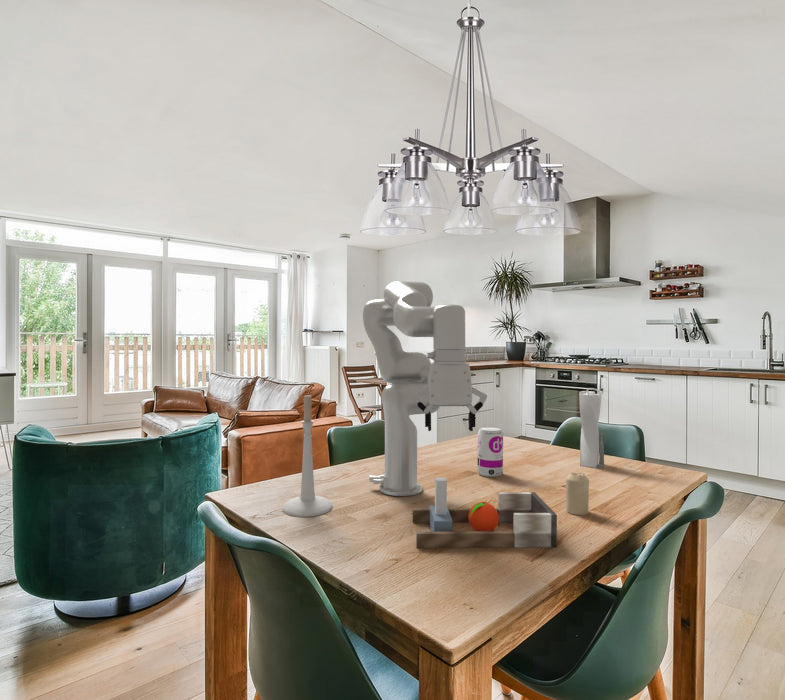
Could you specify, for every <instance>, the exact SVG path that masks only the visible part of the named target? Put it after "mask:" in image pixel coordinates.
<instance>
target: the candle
mask: <svg viewBox="0 0 785 700" xmlns="http://www.w3.org/2000/svg"><path fill="white" fill-rule="evenodd" d="M589 484H590V480H589V478H588V476H586V475H585V473H584V472H578V473H576V472H575V473H574V472H570V473H569V474H568V475H567V476H566V478H565V511H566V512H567V513H568V514H572V515H577V516H585V515H587V514H589V499H590V498H589V495H590V491H589V489H590V485H589Z"/></svg>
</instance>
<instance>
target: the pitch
mask: <svg viewBox="0 0 785 700" xmlns="http://www.w3.org/2000/svg"><path fill="white" fill-rule="evenodd" d="M497 499H498V500H497V508H495V509H496V510H497V512H498V516H499V522H498V523H513V527H512V529H513V531H511V530H509V531H507V530H503V531H502V530H501V531H500V530H499V531H497V530H494V531H475V530H469V531H468V530H467V531H466V530H465V531H464V530H463V531H457V530H455V531H453V530H452V531H432V530H431V531H427V530H426V531H424V530H423V531H416V534H415V535H416V536H415V537H416V538H415V540H416V541H415V545H416V548H417V549H419V548H421V549H422V548H423V549H425V548H427V549H428V548H429V549H431V548H432V549H433V548H435V549H436V548H438V549H439V548H443V549H445V548H448V549H449V548H451V549H452V548H456V549H457V548H466V549H467V548H469V549H470V548H557V537H558V536H557V535H558V534H557V531H558V529H557V528H558V525H557V524H558V515H557V513H556V512H555V511H554V510H553V509H552V508H551V507H550V506H549V505H548V504H547V503H546V502H545V501H544V500H543V499H542V498H541V497H540V496H539V495H538V494H537V493H536V492H535V491H533V492H531V491H530V492H529V491H527V492H525V491H524V492H523V491H522V492H521V491H519V492H518V491H516V492H515V491H514V492H513V491H511V492H509V491H508V492H507V491H505V492H504V491H503V492H501V491H500V492H498V493H497ZM470 509H471V508H448V510H449V513H450V516H451V518H452V524H453V523H465V524H466V523H469V519H468V516H469V511H470ZM411 519H412V523H413V524H414V523H415V524H416V523H418V524H421V523H425V524H426V523H429V524H430V508H412V517H411ZM469 524H470V523H469Z"/></svg>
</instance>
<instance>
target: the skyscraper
mask: <svg viewBox="0 0 785 700" xmlns="http://www.w3.org/2000/svg"><path fill="white" fill-rule="evenodd" d="M589 390H593V391H589ZM596 391H597V392H598V393H596ZM578 394H579V397H578V398H579V399H578V400H579V401H578V402H579V414H580V415H579V416H580V422H581V423H580V424H581V429H580V443H579V444H580V445H579V466H580V467H584V468H592V469H600V470H602V469H603V468H604V466H605V447H604V446H605V442H604V432H603V429H601V434H600V433H599V425H598V424H599V419H600V416H601V415H600V414H601V407H602V405H601V404H602V393H601V392H600V390H599V389H597V388H594V387H589V388H586V390H583V391H579V393H578Z"/></svg>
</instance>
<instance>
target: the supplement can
mask: <svg viewBox="0 0 785 700" xmlns="http://www.w3.org/2000/svg"><path fill="white" fill-rule="evenodd" d="M503 465H504V433H503V431H502V428H500V427H496V426H495V427H494V426H482V427H479V429H478V432H477V473H478V474H479V475H480V476H483V477H487V478H496V477H497V476H498V477H500V476H502V474H504V466H503Z"/></svg>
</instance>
